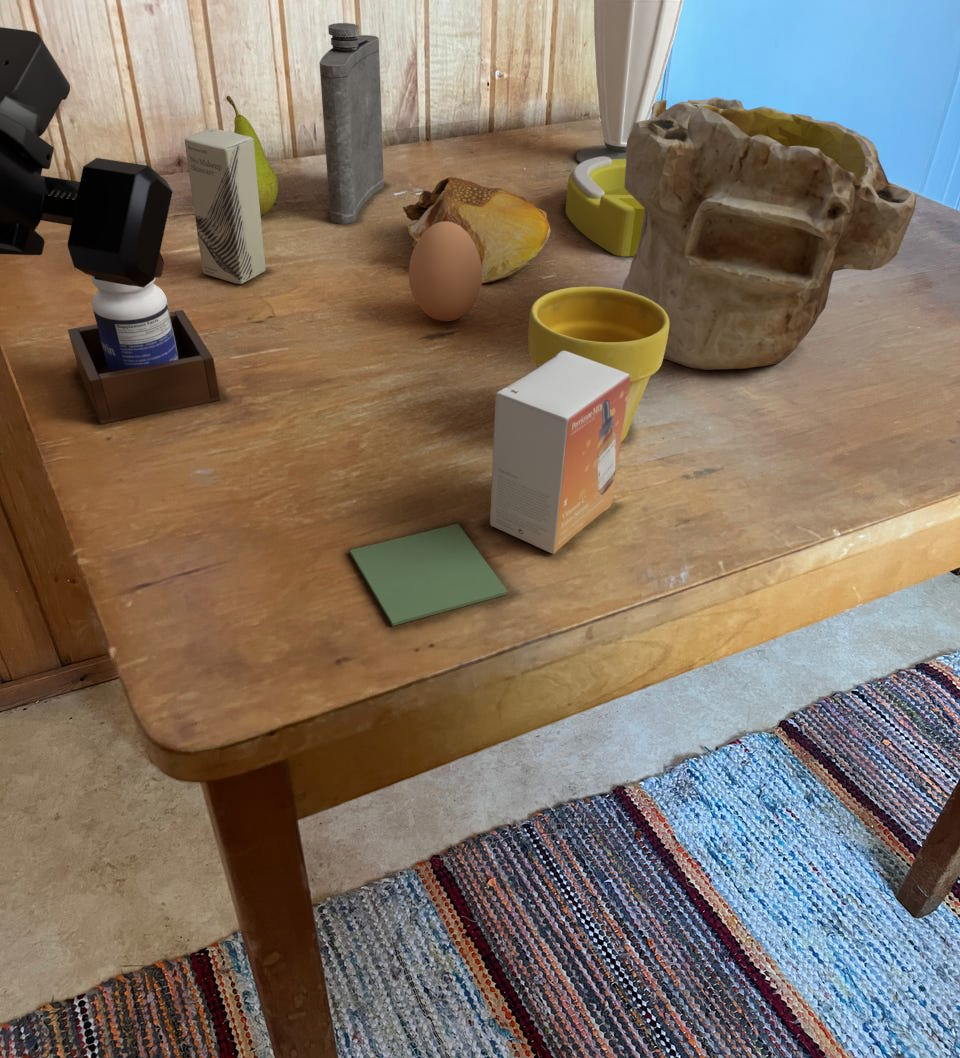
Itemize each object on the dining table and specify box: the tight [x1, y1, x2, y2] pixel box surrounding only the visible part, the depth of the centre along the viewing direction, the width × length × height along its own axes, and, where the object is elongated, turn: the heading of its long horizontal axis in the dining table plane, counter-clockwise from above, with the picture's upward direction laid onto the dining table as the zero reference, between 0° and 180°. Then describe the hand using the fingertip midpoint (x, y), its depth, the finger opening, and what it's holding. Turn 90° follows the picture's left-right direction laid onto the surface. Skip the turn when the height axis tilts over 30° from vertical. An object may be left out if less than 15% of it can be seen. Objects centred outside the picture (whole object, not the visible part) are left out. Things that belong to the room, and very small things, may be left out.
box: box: [184, 127, 267, 285], centre depth 95 cm, size 5×4×13 cm
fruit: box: [225, 95, 279, 217], centre depth 107 cm, size 6×6×12 cm
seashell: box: [402, 176, 551, 284], centre depth 104 cm, size 17×8×15 cm
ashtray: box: [565, 156, 644, 257], centre depth 112 cm, size 16×21×5 cm
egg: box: [408, 221, 483, 322], centre depth 90 cm, size 7×7×9 cm
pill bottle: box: [91, 276, 179, 372], centre depth 79 cm, size 6×6×10 cm
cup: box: [576, 0, 685, 164], centre depth 122 cm, size 12×12×22 cm
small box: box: [489, 351, 631, 555], centre depth 67 cm, size 8×6×10 cm
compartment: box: [67, 309, 221, 425], centre depth 81 cm, size 10×10×4 cm
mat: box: [349, 523, 508, 627], centre depth 65 cm, size 8×8×1 cm
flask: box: [319, 22, 385, 225], centre depth 109 cm, size 4×14×18 cm, turn 168°
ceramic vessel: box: [621, 96, 917, 371], centre depth 84 cm, size 23×24×25 cm
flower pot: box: [527, 286, 670, 443], centre depth 76 cm, size 10×10×10 cm
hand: (100, 257), depth 65 cm, fingers open, 9 cm apart
